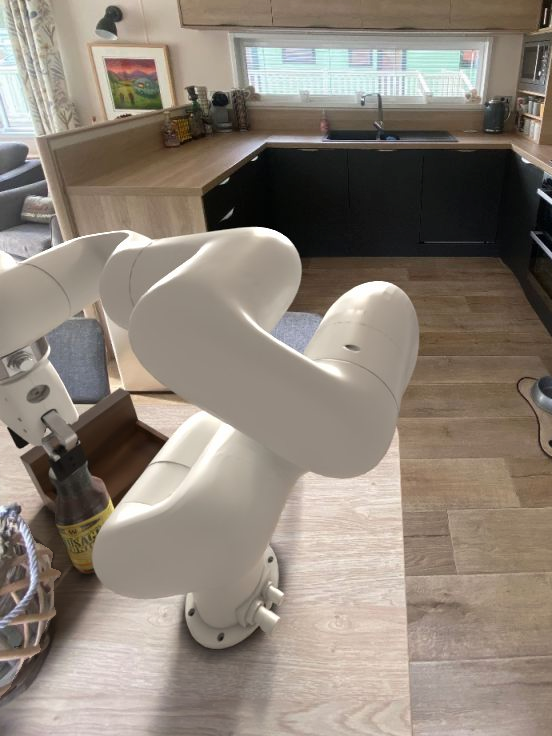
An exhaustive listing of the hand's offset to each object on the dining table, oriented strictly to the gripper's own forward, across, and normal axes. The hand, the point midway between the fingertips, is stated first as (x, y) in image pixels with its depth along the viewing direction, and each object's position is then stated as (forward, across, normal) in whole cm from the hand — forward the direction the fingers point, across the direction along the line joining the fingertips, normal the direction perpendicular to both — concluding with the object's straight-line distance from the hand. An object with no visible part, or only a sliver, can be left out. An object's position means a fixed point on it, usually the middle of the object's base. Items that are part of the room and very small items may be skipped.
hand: (52, 454), depth 52 cm
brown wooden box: (+22, +10, -8) cm, 25 cm away
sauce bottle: (+22, -1, 0) cm, 22 cm away
